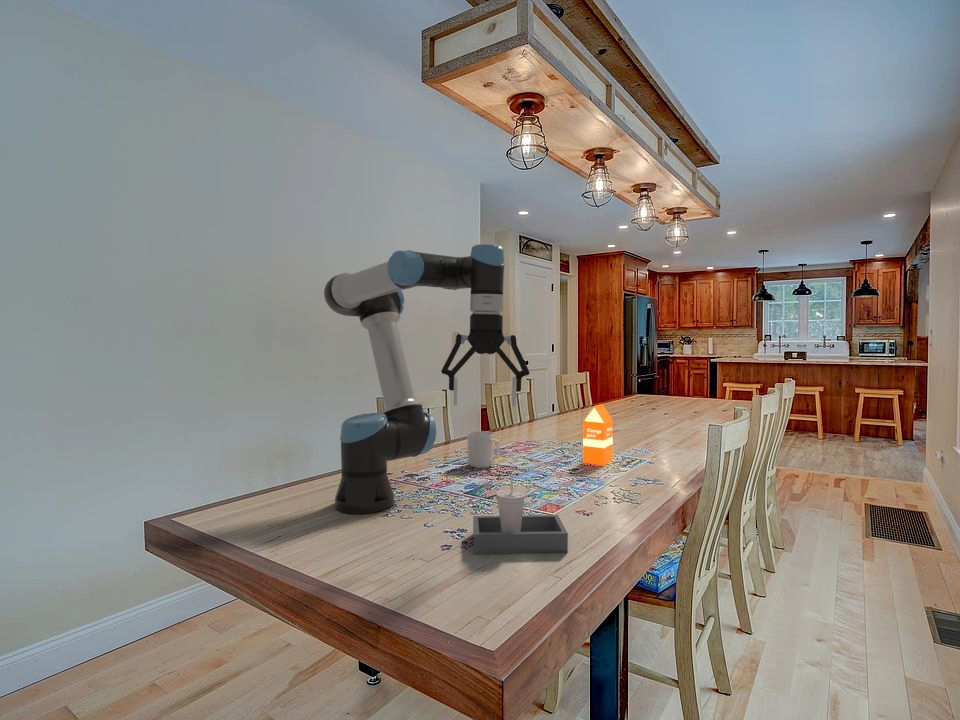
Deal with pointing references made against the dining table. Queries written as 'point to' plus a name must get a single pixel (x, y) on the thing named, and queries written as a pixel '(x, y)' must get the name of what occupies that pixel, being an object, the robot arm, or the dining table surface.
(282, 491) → the dining table surface
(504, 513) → the smoothie
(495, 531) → the tray
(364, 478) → the robot arm
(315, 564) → the dining table surface
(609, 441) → the orange juice
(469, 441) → the mug
